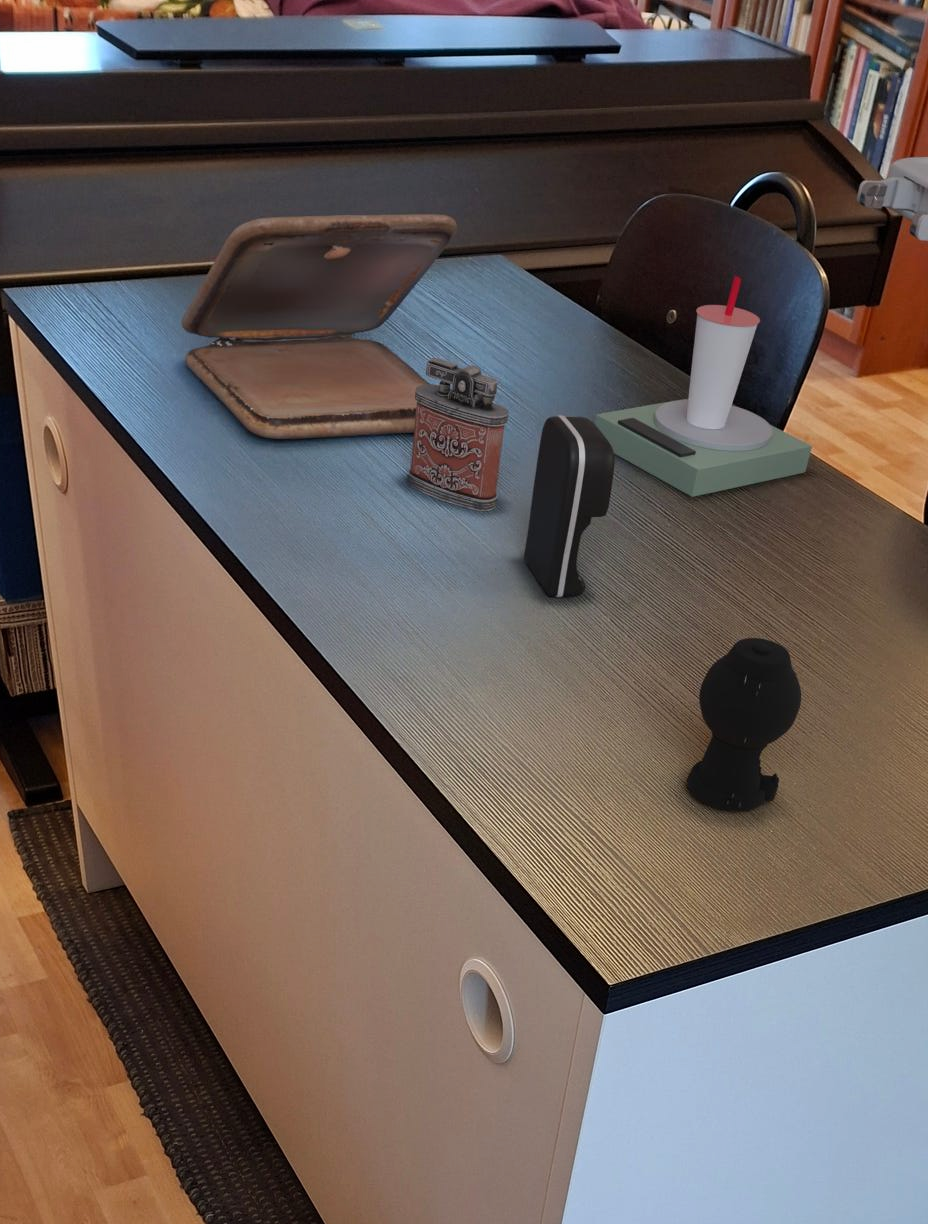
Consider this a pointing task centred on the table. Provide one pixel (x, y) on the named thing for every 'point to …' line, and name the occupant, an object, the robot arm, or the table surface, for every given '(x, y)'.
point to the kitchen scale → (702, 447)
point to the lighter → (457, 436)
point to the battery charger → (566, 499)
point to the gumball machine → (744, 723)
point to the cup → (718, 360)
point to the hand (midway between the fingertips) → (887, 209)
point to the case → (313, 322)
